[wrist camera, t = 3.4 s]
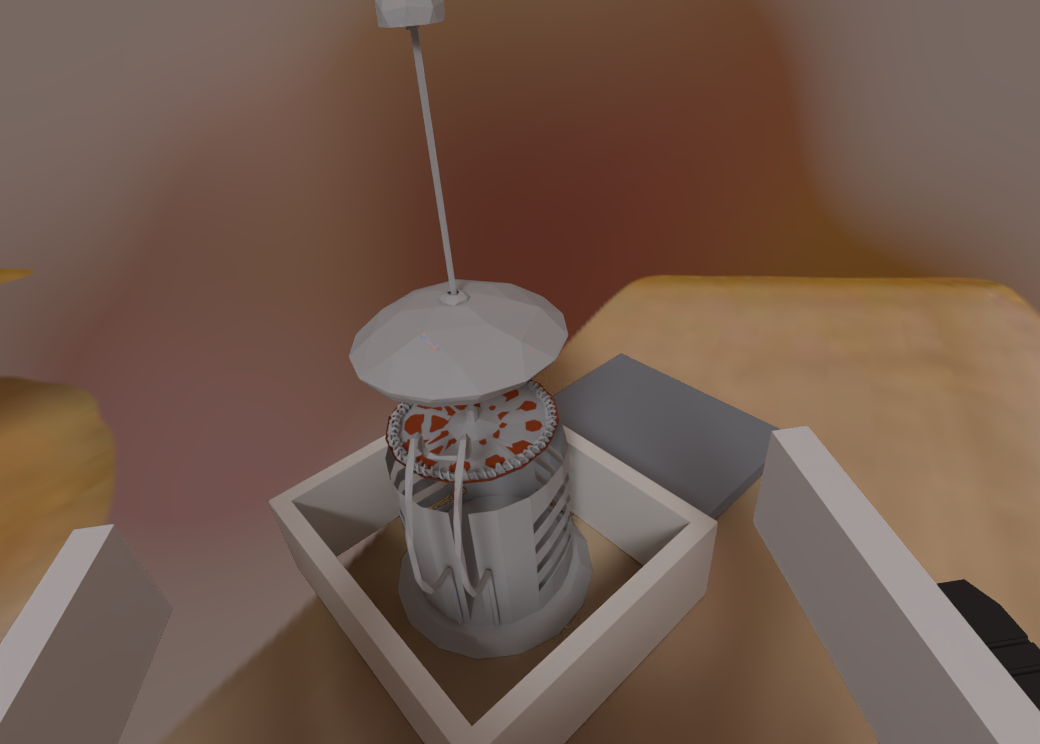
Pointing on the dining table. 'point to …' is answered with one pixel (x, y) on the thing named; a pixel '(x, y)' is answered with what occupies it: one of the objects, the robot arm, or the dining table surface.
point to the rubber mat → (668, 432)
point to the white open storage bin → (569, 667)
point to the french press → (475, 445)
